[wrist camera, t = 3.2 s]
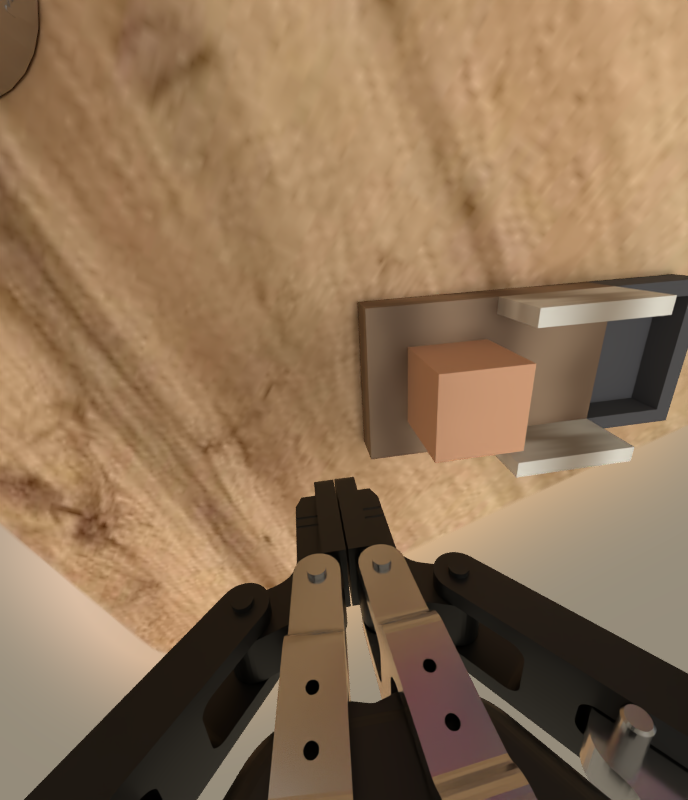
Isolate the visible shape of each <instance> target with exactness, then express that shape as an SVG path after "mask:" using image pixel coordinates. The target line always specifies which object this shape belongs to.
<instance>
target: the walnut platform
mask: <svg viewBox="0 0 688 800" xmlns="http://www.w3.org/2000/svg"><path fill="white" fill-rule="evenodd" d="M676 297H677V295H672V294H665V293H658V292H651V291H645V290H638V289H631V288H624V287H617V286H610V285H603V284H596V283H589V282H580V283H568V284H557V285H546V286H534V287H523V288H511V289H500V290H489V291H477V292H466V293H455V294H443V295H432V296H420V297H409V298H398V299H386V300H375V301H364V302H358V320H359V342H360V363H361V384H362V405H363V426H364V442H365V444H366V447H367V450H368V452H369V455H370V457H371V459H378V458H385V457H393V456H400V455H408V454H415V453H423V452H428V451H427V450H426V448H425V447H424V445H423V444H422V442H421V441H420V439H419V438H418V436H417V435H416V433H415V432H414V430H413V429H412V427H411V426H410V424H409V423H408V347H415V346H425V345H435V344H445V343H454V342H464V341H474V340H484V339H488V340H490V341H492V342H494V343H496V344H498V345H500V346H502V347H504V348H506V349H508V350H510V351H512V352H514V353H516V354H518V355H520V356H522V357H524V358H526V359H528V360H530V361H532V362H534V363H536V370H535V377H534V384H533V391H532V397H531V404H530V411H529V418H528V424H527V431H526V438H525V445H524V451H520V452H512V453H505V454H498V455H495V456H496V457H497V458H498V459H499V460H500V461H501V462H502V463H503V464H504V465H505V466H506V467H507V468H508V469H509V470H510V471H511V472H512V473H513V474H514V475H515V476H516V477H523V476H529V475H536V474H543V473H550V472H557V471H564V470H571V469H578V468H585V467H592V466H599V465H606V464H612V463H619V462H626V461H630V460H631V457H632V453H633V450H634V446H632V445H630V444H629V443H627V442H625V441H624V440H622V439H620V438H619V437H617V436H615V435H613V434H612V433H610V432H608V431H607V430H605V429H603V428H602V427H600V426H598V425H597V424H595V423H593V422H592V421H590V420H588V419H587V414H588V410H589V405H590V400H591V396H592V391H593V387H594V382H595V377H596V373H597V368H598V363H599V359H600V354H601V349H602V345H603V340H604V336H605V331H606V326H607V322H608V321H614V320H624V319H634V318H644V317H654V316H664V315H672V311H673V308H674V304H675V301H676Z"/></svg>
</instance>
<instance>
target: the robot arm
mask: <svg viewBox="0 0 688 800" xmlns="http://www.w3.org/2000/svg"><path fill="white" fill-rule="evenodd" d="M37 33H38V1H37V0H0V96H1V95H3V94H4V93H6V92H8V91H9V90H11V89H12V88H13V87H14V85H15V84H16V83H17V82H18V81H19V80H20V78H21V77H22V76H23V75H24V74H25V72H26V69H27V67H28V65H29V63H30V61H31V58H32V56H33V54H34V50H35V44H36V39H37ZM314 486H315V496H311V497H303V498H301V499H300V501H299V503H298V505H297V507H296V536H297V565H296V567H295V569H294V572H293V573H292V575H291V576H290V577H289V578H288V579H287V580H285V581H284V582H283V583H281V584H279V585H277V586H275V587H273V588H270V589H268V590H266V589H265V588H264V587H263V586H261V585H259V584H255V583H245V584H241V585H239V586H236V587H234V588H232V589H231V590H230V591H228V592H227V593H226V594H225V595H224V596H223V597H222V598H221V599H220V600H219V601H218V602H217V603H216V604H215V605H214V606H213V607H212V608H211V609H210V610H209V611H208V612H207V613H206V614H205V615H204V616H203V617H202V619H201V620H200V621H199V622H198V623H197V624H196V625H195V626H194V627H193V628H192V629H191V630H190V631H189V632H188V633H187V634H186V635H185V636H184V637H183V638H182V639H181V640H180V641H179V642H178V643H177V644H176V645H175V646H174V647H173V648H172V649H171V650H170V651H169V652H168V653H167V654H166V655H165V656H164V657H163V658H162V659H161V660H160V661H159V663H157V664H156V666H154V667H153V669H152V670H151V671H150V672H149V673H148V674H147V675H146V676H145V677H144V678H143V679H142V680H141V681H140V682H139V683H138V684H137V685H136V686H135V687H134V688H133V689H132V690H131V691H130V692H129V693H128V694H127V695H126V696H125V697H124V698H123V699H122V700H121V701H120V702H119V703H118V704H117V705H116V706H115V707H114V708H113V709H112V710H111V711H110V712H109V713H108V714H107V715H106V716H105V717H104V718H103V720H102V721H101V722H100V723H99V724H98V725H97V726H96V727H95V728H94V729H93V730H92V731H91V732H90V733H89V734H88V735H87V736H86V737H85V738H84V739H83V740H82V741H81V742H80V743H79V744H78V745H77V746H76V747H75V748H74V749H73V750H72V751H71V752H70V753H69V754H68V755H67V756H66V757H65V758H64V759H63V760H62V761H61V762H60V763H59V765H58V766H57V767H55V768H54V770H53V771H52V772H51V773H50V774H49V775H48V776H47V777H46V778H45V779H44V780H43V781H42V782H41V783H40V784H39V785H38V786H37V787H36V788H35V789H34V790H33V791H32V792H31V793H30V794H29V795H28V796H27V797H26V798H25V799H24V800H197V799H198V797H199V796H200V794H201V793H202V791H203V790H204V788H205V787H206V785H207V784H208V782H209V781H210V779H211V778H212V777H213V775H214V773H215V772H216V771H217V769H218V768H219V766H220V765H221V763H222V762H223V760H224V759H225V757H226V756H227V754H228V753H229V751H230V750H231V748H232V747H233V745H234V744H235V743H236V741H237V740H238V738H239V737H240V735H241V734H242V732H243V731H244V730H245V728H246V727H247V725H248V724H249V722H250V721H251V719H252V718H253V716H254V715H255V713H256V712H257V710H258V709H259V707H260V706H261V705H262V703H263V702H264V700H265V699H266V697H267V696H268V694H269V693H270V691H271V690H272V688H273V687H274V685H275V684H276V682H277V681H278V679H279V689H278V699H277V710H276V721H275V731H274V732H273V733H272V734H270V735H269V736H268V737H267V738H266V739H265V740H264V741H263V742H262V743H261V744H260V745H259V746H258V747H257V748H256V749H255V750H254V752H253V753H252V754H251V756H250V757H249V758H248V760H247V761H246V763H245V764H244V766H243V768H242V769H241V770H240V772H239V774H238V775H237V777H236V779H235V781H234V782H233V784H232V785H231V787H230V789H229V790H228V792H227V794H226V795H225V797H224V799H223V800H688V674H687V673H685V672H684V671H682V670H680V669H678V668H676V667H674V666H673V665H671V664H669V663H667V662H665V661H663V660H661V659H659V658H658V657H656V656H654V655H652V654H650V653H648V652H647V651H645V650H643V649H641V648H639V647H637V646H635V645H634V644H632V643H630V642H628V641H626V640H624V639H622V638H621V637H619V636H617V635H615V634H613V633H611V632H609V631H607V630H606V629H604V628H602V627H600V626H598V625H596V624H594V623H593V622H591V621H589V620H587V619H585V618H583V617H581V616H579V615H578V614H576V613H574V612H572V611H570V610H568V609H567V608H565V607H563V606H561V605H559V604H557V603H556V602H554V601H552V600H550V599H548V598H546V597H544V596H542V595H541V594H539V593H537V592H535V591H533V590H531V589H530V588H528V587H526V586H524V585H522V584H520V583H518V582H517V581H515V580H513V579H511V578H509V577H507V576H505V575H504V574H502V573H500V572H498V571H496V570H494V569H492V568H491V567H489V566H487V565H485V564H483V563H481V562H479V561H477V560H476V559H474V558H472V557H470V556H468V555H465V554H463V553H456V552H450V553H445V554H443V555H441V556H440V557H438V558H437V559H436V561H435V563H434V564H428V563H420V562H415V561H412V560H410V559H407V558H406V557H404V556H403V555H402V553H401V552H400V551H399V550H398V549H396V547H395V544H394V541H393V538H392V536H391V533H390V530H389V527H388V524H387V521H386V518H385V516H384V513H383V510H382V508H381V504H380V501H379V498H378V496H377V495H376V494H375V493H374V492H373V491H372V490H370V489H362V490H357V487H356V483H355V480H354V477H349V478H341V479H335V487H334V482H333V480H327V481H319V482H314ZM335 492H336V493H335ZM349 587H350V592H349ZM350 593H351V598H352V604H353V606H354V605H360V608H361V613H362V622H363V630H364V634H365V638H366V641H367V645H368V649H369V652H370V656H371V660H372V664H373V667H374V671H375V675H376V678H377V682H378V686H379V690H380V694H381V698H382V700H380V701H378V702H376V703H362V702H353V701H351V698H350V683H349V668H348V653H347V637H346V627H347V613H346V607H349V606H351V604H350ZM468 673H469V674H471V675H472V676H473V677H474V678H476V679H477V680H478V681H480V682H481V683H482V684H484V685H485V686H486V687H488V688H489V689H490V690H492V691H493V692H494V693H496V694H497V695H498V696H499V697H501V698H502V699H503V700H505V701H506V702H508V703H509V704H510V705H511V706H513V707H514V708H515V709H517V710H518V711H519V712H521V713H522V714H523V715H525V716H526V717H527V718H528V719H530V720H531V721H533V722H534V723H535V724H537V725H538V726H539V727H540V728H542V729H543V730H544V731H546V732H547V733H548V734H550V735H551V736H552V737H554V738H555V739H556V740H558V741H559V742H560V743H561V744H563V745H564V746H565V747H567V748H568V749H569V750H571V751H572V752H573V753H575V754H576V755H577V756H579V757H580V760H581V764H582V767H583V769H584V772H585V774H586V776H587V777H588V779H589V781H590V782H589V781H588V780H587V779H586V778H585V777H583V776H582V775H581V774H580V773H579V772H577V771H576V770H575V769H574V768H572V767H571V766H570V765H569V764H568V763H566V762H565V761H564V760H563V759H561V758H560V757H559V756H558V755H557V754H555V753H554V752H553V751H552V750H550V749H549V748H548V747H547V746H546V745H544V744H543V743H542V742H541V741H540V740H538V739H537V738H536V737H535V736H533V735H532V734H531V733H530V732H529V731H527V730H526V729H525V728H524V727H522V726H521V725H520V724H519V723H518V722H517V721H515V720H514V719H513V718H512V717H510V716H509V715H508V714H507V713H505V712H504V711H503V710H501V709H500V708H498V707H497V706H495V705H494V704H492V703H491V702H489V701H487V700H485V699H483V698H481V697H479V695H478V693H477V690H476V688H475V686H474V684H473V682H472V680H471V678H470V676H469V674H468ZM279 677H280V678H279Z"/></svg>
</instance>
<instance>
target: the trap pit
mask: <svg viewBox="0 0 688 800" xmlns="http://www.w3.org/2000/svg"><path fill="white" fill-rule="evenodd" d="M589 283H596V284H603V285H610V286H617V287H624V288H631V289H638V290H645V291H651V292H658V293H665V294H672V295H677V297H676V301H675V304H674V308H673V311H672V315H664V316H654V317H644V318H634V319H624V320H614V321H608V322H607V326H606V331H605V336H604V340H603V345H602V349H601V354H600V359H599V363H598V368H597V373H596V377H595V382H594V387H593V391H592V396H591V400H590V405H589V410H588V414H587V419H588V420H590V421H592V422H593V423H595V424H597V425H598V426H600V427H602V428H610V427H618V426H625V425H633V424H640V423H648V422H655V421H663V420H666V417H667V414H668V410H669V407H670V404H671V401H672V398H673V394H674V391H675V388H676V385H677V381H678V378H679V375H680V372H681V368H682V365H683V362H684V359H685V356H686V352H687V349H688V276H685V275H674V274H671V275H659V276H648V277H637V278H625V279H614V280H603V281H591V282H589Z"/></svg>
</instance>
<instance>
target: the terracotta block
mask: <svg viewBox="0 0 688 800" xmlns="http://www.w3.org/2000/svg"><path fill="white" fill-rule="evenodd" d="M535 370H536V363H534V362H532V361H530V360H528V359H526V358H524V357H522V356H520V355H518V354H516V353H514V352H512V351H510V350H508V349H506V348H504V347H502V346H500V345H498V344H496V343H494V342H492V341H490V340H488V339H484V340H474V341H464V342H454V343H445V344H435V345H425V346H415V347H408V423H409V424H410V426H411V427H412V429H413V430H414V432H415V433H416V435H417V436H418V438H419V439H420V441H421V442H422V444H423V445H424V447H425V448H426V450H427V451H428V453H429V454H430V456H431V457H432V459H433V460H434V462H435V463H439V462H447V461H454V460H461V459H468V458H476V457H483V456H490V455H498V454H505V453H512V452H520V451H524V445H525V438H526V431H527V424H528V418H529V411H530V404H531V397H532V391H533V384H534V377H535Z"/></svg>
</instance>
